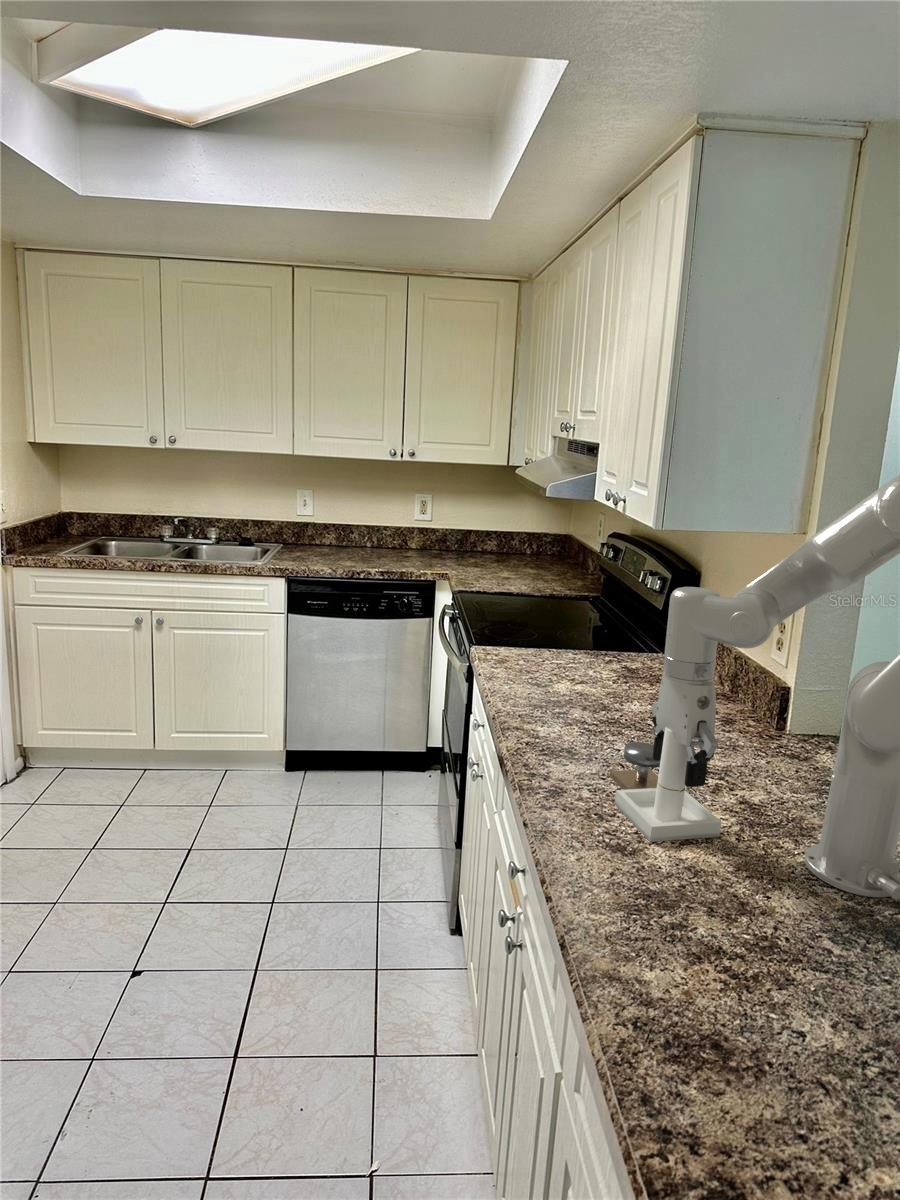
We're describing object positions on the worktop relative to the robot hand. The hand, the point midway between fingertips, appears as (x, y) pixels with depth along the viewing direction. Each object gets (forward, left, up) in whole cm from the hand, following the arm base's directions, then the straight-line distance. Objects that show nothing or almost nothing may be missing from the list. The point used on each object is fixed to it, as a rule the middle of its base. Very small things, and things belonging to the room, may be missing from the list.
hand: (677, 772), depth 122 cm
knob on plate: (+13, -1, -9) cm, 15 cm away
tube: (0, +1, -8) cm, 8 cm away
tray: (+1, +1, -9) cm, 9 cm away
